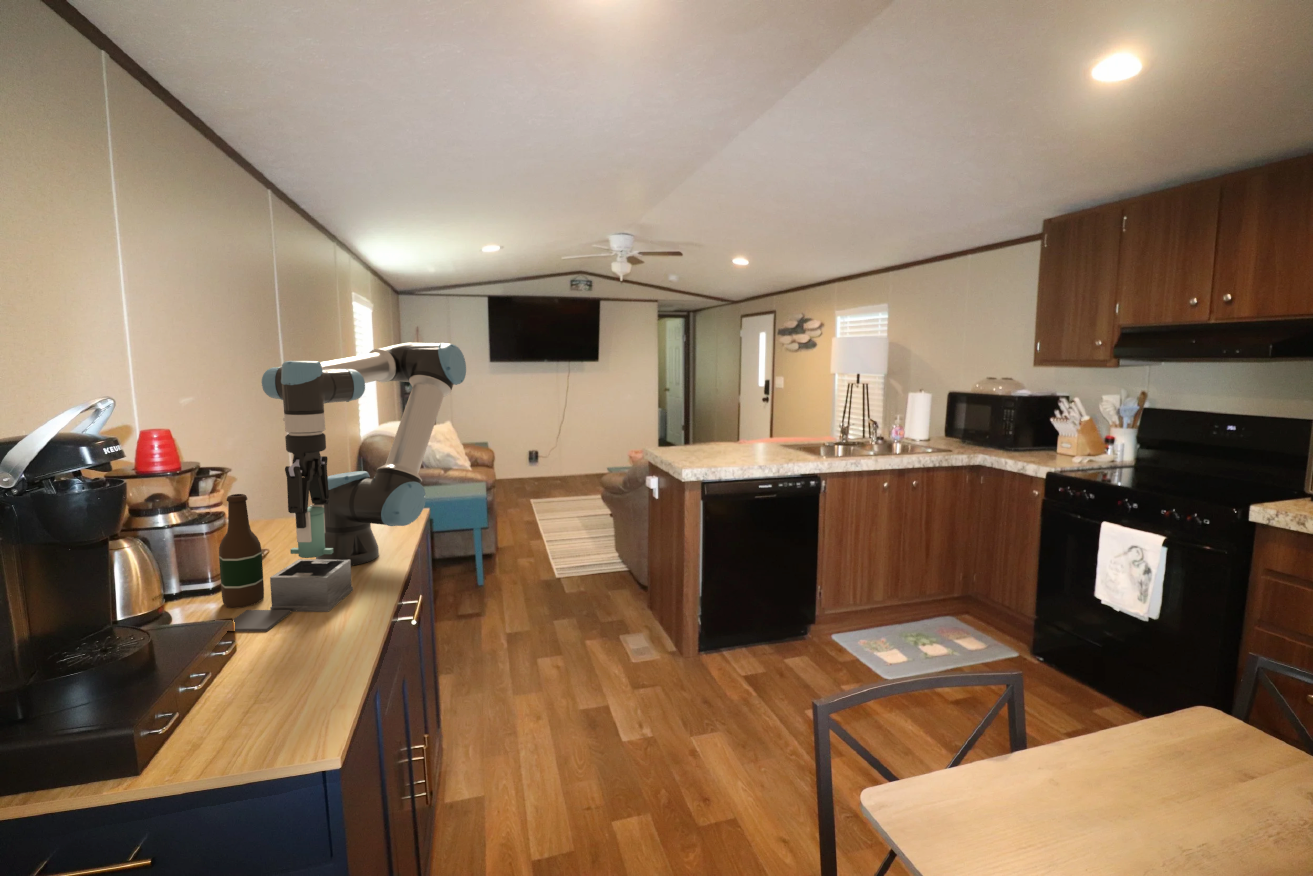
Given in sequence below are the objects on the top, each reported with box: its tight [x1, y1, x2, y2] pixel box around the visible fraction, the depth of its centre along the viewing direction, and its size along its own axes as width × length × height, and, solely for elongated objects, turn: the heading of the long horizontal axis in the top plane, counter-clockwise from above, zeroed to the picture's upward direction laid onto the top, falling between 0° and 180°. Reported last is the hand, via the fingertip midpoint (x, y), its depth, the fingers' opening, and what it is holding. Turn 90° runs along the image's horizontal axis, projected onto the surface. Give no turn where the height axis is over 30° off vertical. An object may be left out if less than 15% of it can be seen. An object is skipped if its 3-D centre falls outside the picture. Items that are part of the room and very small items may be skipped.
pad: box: [233, 609, 292, 633], centre depth 125 cm, size 9×9×1 cm
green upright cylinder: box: [289, 506, 333, 559], centre depth 134 cm, size 9×6×10 cm, turn 93°
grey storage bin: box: [269, 558, 354, 613], centre depth 135 cm, size 12×12×8 cm
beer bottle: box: [218, 493, 265, 609], centre depth 133 cm, size 8×8×24 cm
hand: (311, 537), depth 134 cm, fingers closed on green upright cylinder, 5 cm apart
